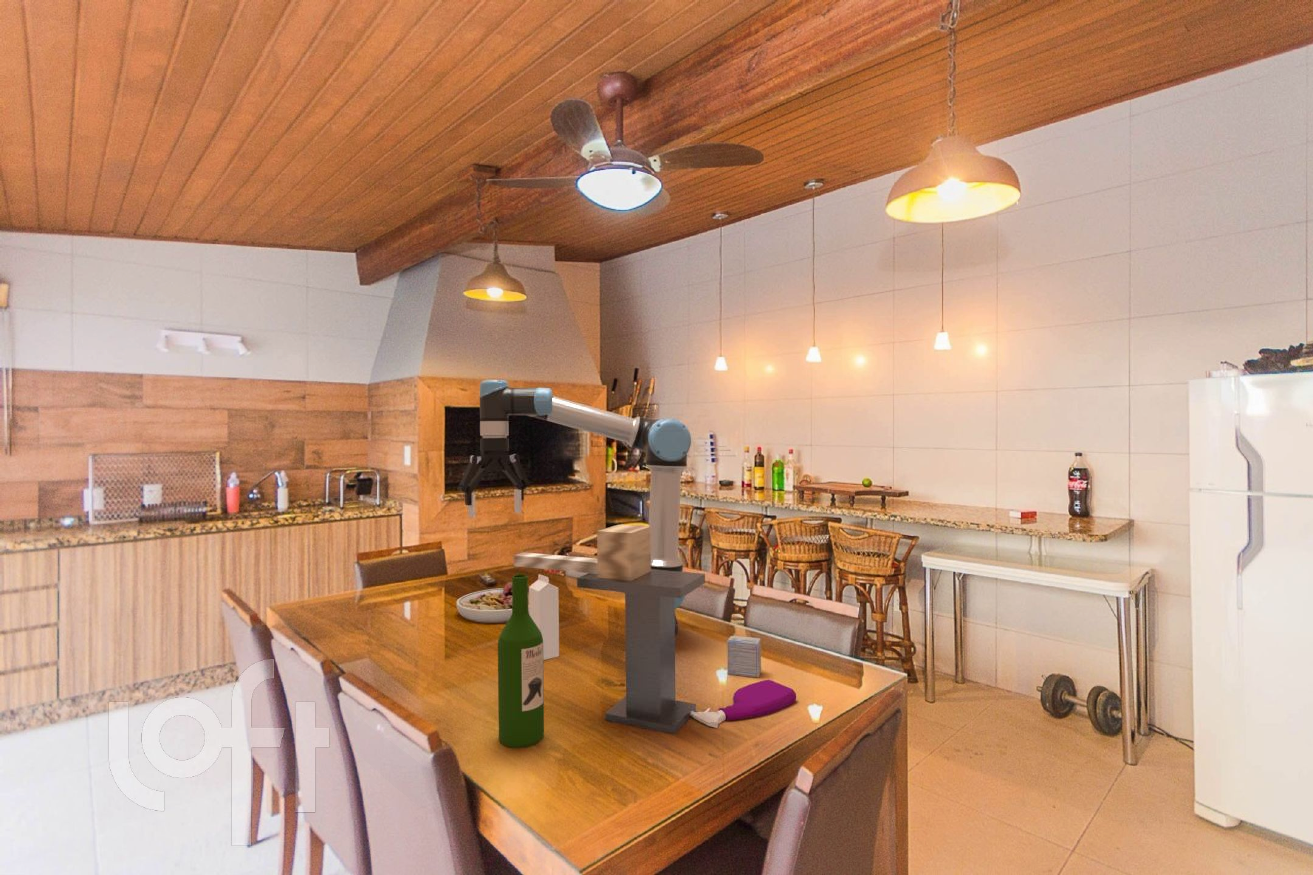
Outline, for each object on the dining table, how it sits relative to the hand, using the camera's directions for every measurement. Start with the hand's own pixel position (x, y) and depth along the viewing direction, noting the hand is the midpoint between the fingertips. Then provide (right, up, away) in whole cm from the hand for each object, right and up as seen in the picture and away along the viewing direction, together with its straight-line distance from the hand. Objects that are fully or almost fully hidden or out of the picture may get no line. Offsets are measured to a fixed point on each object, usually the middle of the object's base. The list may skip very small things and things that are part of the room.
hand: (495, 515), depth 177 cm
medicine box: (+66, -39, -13) cm, 78 cm away
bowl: (-9, -39, +45) cm, 60 cm away
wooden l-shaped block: (+26, -9, -30) cm, 40 cm away
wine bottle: (+17, -39, -46) cm, 63 cm away
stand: (+41, -39, -36) cm, 67 cm away
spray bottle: (+63, -39, -34) cm, 82 cm away
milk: (+13, -39, +1) cm, 41 cm away
